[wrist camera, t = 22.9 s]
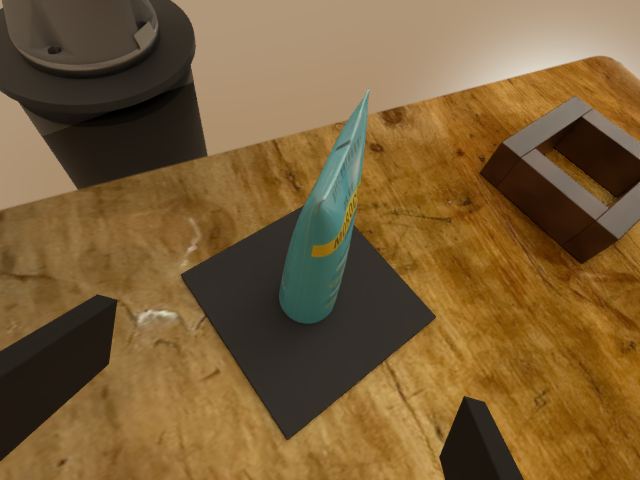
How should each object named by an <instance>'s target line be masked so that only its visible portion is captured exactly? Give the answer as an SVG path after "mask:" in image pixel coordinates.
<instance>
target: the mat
mask: <svg viewBox="0 0 640 480" xmlns="http://www.w3.org/2000/svg"><path fill="white" fill-rule="evenodd" d="M303 207H304V206H302V207H301V208H299V209H297V210H295V211H293V212H292V213H290V214H288V215H286V216H284V217H283V218H281V219H279V220H277V221H275V222H274V223H272V224H270V225H268V226H266V227H265V228H263V229H261V230H259V231H258V232H256V233H254V234H252V235H250V236H249V237H247V238H245V239H243V240H241V241H240V242H238V243H236V244H234V245H232V246H231V247H229V248H227V249H225V250H223V251H222V252H220V253H218V254H216V255H215V256H213V257H211V258H209V259H207V260H206V261H204V262H202V263H200V264H198V265H197V266H195V267H193V268H191V269H189V270H188V271H186V272H184V273H182V274H181V277H182V278H183V280H184V282H185V283H186V285H187V286H188V288H189V289H190V291H191V292H192V294H193V295H194V297H195V298H196V300H197V302H198V303H199V305H200V306H201V308H202V309H203V311H204V312H205V314H206V315H207V317H208V319H209V320H210V322H211V323H212V325H213V326H214V328H215V329H216V331H217V332H218V334H219V335H220V337H221V339H222V340H223V342H224V343H225V345H226V346H227V348H228V349H229V351H230V352H231V354H232V356H233V357H234V359H235V360H236V362H237V363H238V365H239V366H240V368H241V369H242V371H243V372H244V374H245V376H246V377H247V379H248V380H249V382H250V383H251V385H252V386H253V388H254V389H255V391H256V392H257V394H258V396H259V397H260V399H261V400H262V402H263V403H264V405H265V406H266V408H267V409H268V411H269V413H270V414H271V416H272V417H273V419H274V420H275V422H276V423H277V425H278V426H279V428H280V429H281V431H282V433H283V434H284V436H285V437H286V439H287V440H288V439H290V438H291V437H292V436H293V435H294V434H296V433H297V432H298V431H299V430H300V429H302V428H303V427H304V426H305V425H307V424H308V423H309V422H310V421H311V420H313V419H314V418H315V417H316V416H317V415H319V414H320V413H321V412H322V411H323V410H325V409H326V408H327V407H328V406H330V405H331V404H332V403H333V402H334V401H336V400H337V399H338V398H339V397H340V396H342V395H343V394H344V393H345V392H346V391H348V390H349V389H350V388H351V387H352V386H354V385H355V384H356V383H357V382H359V381H360V380H361V379H362V378H363V377H365V376H366V375H367V374H368V373H369V372H371V371H372V370H373V369H374V368H375V367H377V366H378V365H379V364H380V363H382V362H383V361H384V360H385V359H386V358H388V357H389V356H390V355H391V354H392V353H394V352H395V351H396V350H397V349H398V348H400V347H401V346H402V345H403V344H404V343H406V342H407V341H408V340H409V339H411V338H412V337H413V336H414V335H415V334H417V333H418V332H419V331H420V330H421V329H423V328H424V327H425V326H426V325H427V324H429V323H430V322H431V321H432V320H434V319H435V318H436V316H435V315H434V314H433V313H432V312H431V311H430V309H429V308H428V307H427V306H426V305H425V304H424V303H423V302H422V301H421V299H420V298H419V297H418V296H417V295H416V294H415V293H414V292H413V291H412V289H411V288H410V287H409V286H408V285H407V284H406V283H405V282H404V280H403V279H402V278H401V277H400V276H399V275H398V274H397V273H396V272H395V270H394V269H393V268H392V267H391V266H390V265H389V264H388V263H387V262H386V260H385V259H384V258H383V257H382V256H381V255H380V254H379V253H378V252H377V250H376V249H375V248H374V247H373V246H372V245H371V244H370V243H369V241H368V240H367V239H366V238H365V237H364V236H363V235H362V234H361V233H360V231H359V230H358V229H357V228H356V227H355V226H354V225H353V230H352V235H351V240H350V245H349V250H348V255H347V260H346V264H345V268H344V272H343V276H342V280H341V284H340V287H339V291H338V294H337V297H336V301H335V304H334V307H333V309H332V311H331V312H330V314H329V315H328V316H327V317H326V318H324V319H323V320H321V321H319V322H316V323H312V324H304V323H299V322H297V321H294V320H293V319H291V318H290V317H289V316H287V315H286V314H285V312H284V311H283V309H282V307H281V305H280V301H279V291H280V286H281V280H282V275H283V270H284V266H285V261H286V257H287V253H288V249H289V246H290V242H291V238H292V235H293V232H294V229H295V226H296V223H297V221H298V218H299V216H300V214H301V211H302V209H303Z"/></svg>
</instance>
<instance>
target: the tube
mask: <svg viewBox="0 0 640 480" xmlns="http://www.w3.org/2000/svg"><path fill="white" fill-rule="evenodd" d="M369 92H370V88H368V90H367V92H366V94H365V96H364V98H363V99H362V101H361V102H360V104H359V105H358V106H357V108H356V109H355V111H354V112H353V114H352V115H351V116H350V118H349V120H348V121H347V123H346V124H345V126H344V128H343V129H342V131H341V133H340V135H339V137H338V139H337V141H336V143H335V145H334V147H333V149H332V151H331V153H330V155H329V157H328V159H327V161H326V163H325V165H324V168H323V170H322V172H321V174H320V176H319V178H318V180H317V182H316V184H315V186H314V188H313V190H312V192H311V193H310V195H309V197H308V199H307V201H306V203H305V205H304V207H303V209H302V211H301V214H300V216H299V218H298V221H297V223H296V226H295V229H294V232H293V235H292V238H291V242H290V246H289V249H288V253H287V257H286V261H285V266H284V270H283V275H282V280H281V286H280V291H279V301H280V305H281V307H282V309H283V311H284V312H285V314H286V315H287V316H289V317H290V318H291V319H293V320H294V321H297V322H299V323H304V324H312V323H316V322H319V321H321V320H323V319H324V318H326V317H327V316H328V315H329V314H330V312H331V311H332V309H333V307H334V304H335V301H336V297H337V294H338V291H339V287H340V284H341V280H342V276H343V272H344V268H345V264H346V260H347V255H348V250H349V245H350V240H351V235H352V230H353V225H354V219H355V214H356V208H357V202H358V196H359V190H360V182H361V173H362V165H363V156H364V147H365V137H366V126H367V109H368V96H369Z"/></svg>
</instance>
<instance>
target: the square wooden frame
mask: <svg viewBox="0 0 640 480" xmlns="http://www.w3.org/2000/svg"><path fill="white" fill-rule="evenodd" d="M552 148H555V149H557V150H558V151H559V152H560V153H562V154H563V155H564V156H565V157H567V158H568V159H569V160H571V161H572V162H573V163H574V164H576V165H577V166H578V167H579V168H581V169H582V170H583V171H584V172H586V173H587V174H588V175H589V176H591V177H592V178H593V179H594V180H596V181H597V182H598V183H599V184H601V185H602V186H603V187H604V188H606V189H607V190H608V191H609V192H611V193H612V194H613V195H614V196H616V197H617V198H616V199H615V200H614V201H613V202H612V203H610V204H609V205H608V206H606V205H604V204H603V203H602V202H601V201H599V200H598V199H597V198H596V197H594V196H593V195H592V194H591V193H590V192H588V191H587V190H586V189H585V188H583V187H582V186H581V185H580V184H578V183H577V182H576V181H575V180H574V179H572V178H571V177H570V176H569V175H567V174H566V173H565V172H564V171H562V170H561V169H560V168H559V167H558V166H556V165H555V164H554V163H553V162H551V161H550V160H549V159H548V158H546V157H545V156H544V154H545V153H546V152H548V151H549V150H551V149H552ZM480 174H482V175H483V176H484V177H485V178H486V179H487V180H488V181H489V182H491V183H492V184H493V185H494V186H495V187H497V189H498V190H499V191H501V192H502V193H503V194H504V195H505V196H506V197H507V198H508V199H510V200H511V201H512V202H513V203H514V204H515V205H516V206H517V207H518V208H520V209H521V210H522V211H523V212H524V213H525V214H526V215H527V216H529V217H530V218H531V219H532V220H533V221H534V222H535V223H536V224H538V225H539V226H540V227H541V228H542V229H543V230H544V231H545V232H546V233H548V234H549V235H550V236H551V237H552V238H553V239H554V240H555V241H557V242H558V243H559V244H560V245H561V246H562V247H563V248H564V249H566V250H567V251H568V252H569V253H570V254H571V255H572V256H573V257H575V258H576V259H577V260H578V261H579V262H580V263H581V264H583V263H584V262H586V261H587V260H589V259H590V258H592V257H593V256H595V255H597V254H598V253H600V252H601V251H603V250H604V249H606V248H607V247H609V246H610V245H612V244H613V243H615V242H616V241H618V240H619V239H620V238H621V237H622V236H623V235H624V234H626V233H627V232H628V231H629V230H630V229H631V228H632V227H633V226H634V225H635V224H636V223H637V222H638V221H639V220H640V142H638V141H637V140H636V139H634V138H633V137H631V136H630V135H629V134H627V133H626V132H625V131H623V130H622V129H620V128H619V127H618V126H616V125H615V124H614V123H612V122H611V121H609V120H608V119H607V118H605V117H604V116H603V115H601V114H600V113H598V112H597V111H596V110H594V109H593V108H591V107H590V106H589V105H587V104H586V103H584V102H583V101H582V100H580V99H579V98H578V97H576V96H574V97H572V98H571V99H569V100H568V101H566V102H564V103H563V104H561V105H560V106H558V107H556V108H555V109H553V110H552V111H550V112H549V113H547V114H545V115H544V116H542V117H541V118H539V119H538V120H536V121H534V122H533V123H531V124H530V125H528V126H526V127H525V128H523V129H522V130H520V131H519V132H517V133H515V134H514V135H512V136H511V137H509V138H508V139H506V140H504V141H503V142H502V143H501V144H500V145H499V147H498V148H497V150H496V151H495V152H494V154H493V155H492V157H491V158H490V159H489V161H488V162H487V164H486V165H485V166H484V168H483V169H482V171H481V172H480Z"/></svg>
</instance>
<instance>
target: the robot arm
mask: <svg viewBox="0 0 640 480" xmlns="http://www.w3.org/2000/svg"><path fill="white" fill-rule="evenodd" d="M2 3H3V8H4V13H5V18H6V23H7V28H8V33H9V36H10V38H11V40H12V42H13V44H14V45H15V47H16V49H17V50H18V52H19V54H20V55H21V57H22V58H23V59H24V60H25V61H26V62H27V63H28V64H29V65H31V66H32V67H34V68H35V69H37V70H39V71H42V72H44V73H47V74H50V75H53V76H58V77H63V78H72V79H92V78H101V77H107V76H111V75H115V74H118V73H121V72H124V71H127V70H129V69H131V68H133V67H135V66H137V65H139V64H140V63H142V62H143V61H145V60H146V59H147V58H148V57H149V56H151V55H152V53H153V52H154V51H155V49H156V48H157V46H158V44H159V41H160V28H159V24H158V20H157V16H156V13H155V10H154V9H153V7H152V5H151V3H150V2H149V0H2ZM116 306H117V300H116V299H112V298H109V297H105V296H101V295H98V294H97V295H96V296H94V297H92V298H91V299H89V300H87V301H85V302H84V303H82V304H80V305H79V306H77V307H75V308H74V309H72V310H70V311H68V312H67V313H65V314H63V315H62V316H60V317H58V318H56V319H55V320H53V321H51V322H50V323H48V324H46V325H45V326H43V327H41V328H39V329H38V330H36V331H34V332H33V333H31V334H29V335H27V336H26V337H24V338H22V339H21V340H19V341H17V342H16V343H14V344H12V345H10V346H9V347H7V348H5V349H4V350H2V351H0V461H1V460H2V459H3V458H5V457H6V456H7V455H8V454H9V453H10V452H11V451H12V450H14V449H15V448H16V447H17V446H18V445H19V444H20V443H21V442H22V441H24V440H25V439H26V438H27V437H28V436H29V435H30V434H31V433H32V432H34V431H35V430H36V429H37V428H38V427H39V426H40V425H41V424H43V423H44V422H45V421H46V420H47V419H48V418H49V417H50V416H51V415H53V414H54V413H55V412H56V411H57V410H58V409H59V408H60V407H61V406H63V405H64V404H65V403H66V402H67V401H68V400H69V399H70V398H72V397H73V396H74V395H75V394H76V393H77V392H78V391H79V390H80V389H82V388H83V387H84V386H85V385H86V384H87V383H88V382H89V381H91V380H92V379H93V378H94V377H95V376H96V375H97V374H98V373H99V372H101V371H102V370H103V369H104V368H105V367H106V366H107V365H108V364H109V359H110V351H111V344H112V336H113V329H114V321H115V314H116ZM439 458H440V461H441V465H442V469H443V473H444V476H445V480H524V479H523V477H522V475H521V473H520V471H519V469H518V467H517V465H516V463H515V461H514V459H513V457H512V455H511V453H510V451H509V449H508V447H507V445H506V443H505V441H504V439H503V437H502V435H501V433H500V431H499V429H498V427H497V425H496V423H495V421H494V419H493V417H492V415H491V413H490V411H489V409H488V407H487V406H486V404H485V402H483V401H480V400H476V399H472V398H469V397H465V396H464V398H463V400H462V402H461V405H460V407H459V410H458V412H457V415H456V417H455V420H454V422H453V425H452V427H451V430H450V432H449V435H448V437H447V439H446V442H445V444H444V447H443V449H442V452H441V454H440V457H439Z"/></svg>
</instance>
